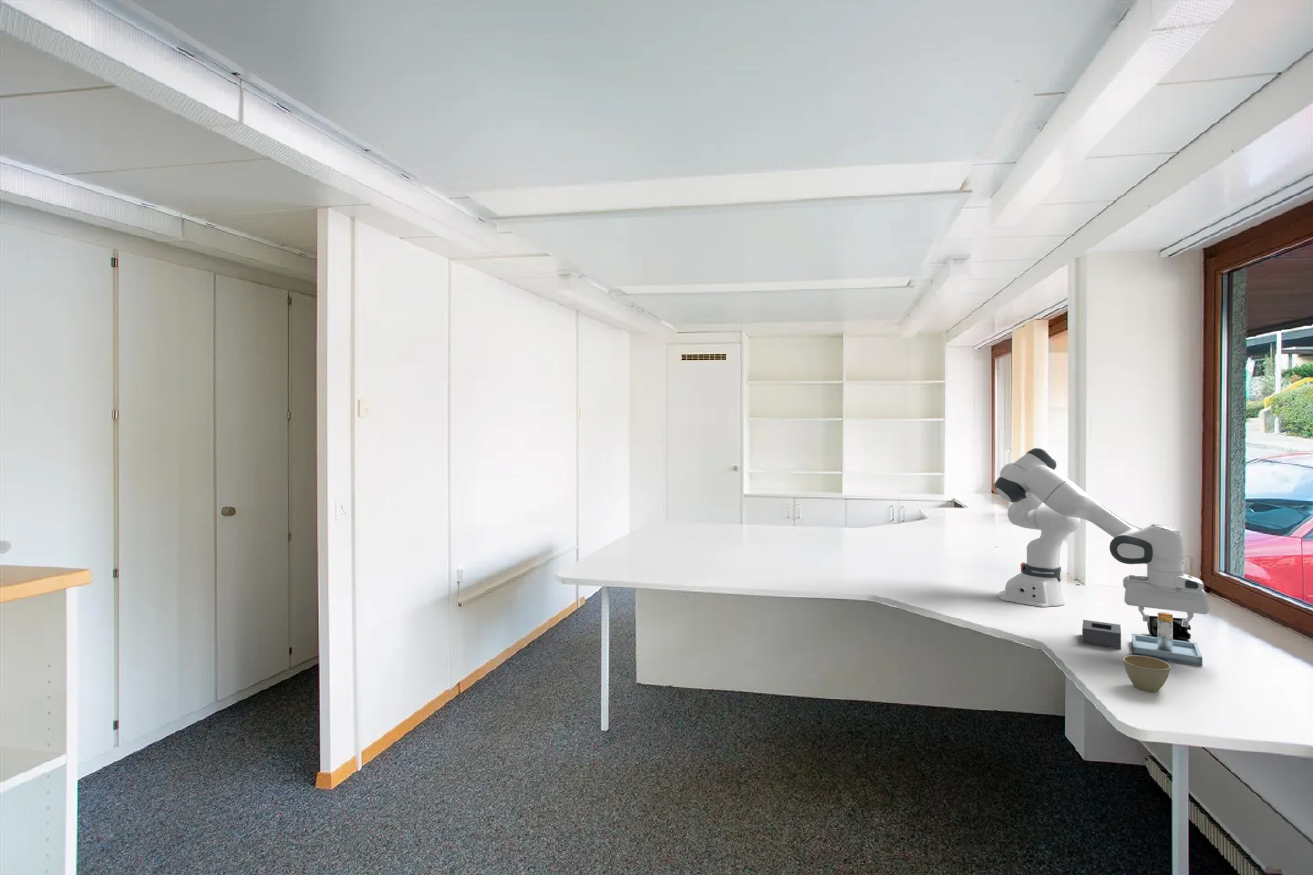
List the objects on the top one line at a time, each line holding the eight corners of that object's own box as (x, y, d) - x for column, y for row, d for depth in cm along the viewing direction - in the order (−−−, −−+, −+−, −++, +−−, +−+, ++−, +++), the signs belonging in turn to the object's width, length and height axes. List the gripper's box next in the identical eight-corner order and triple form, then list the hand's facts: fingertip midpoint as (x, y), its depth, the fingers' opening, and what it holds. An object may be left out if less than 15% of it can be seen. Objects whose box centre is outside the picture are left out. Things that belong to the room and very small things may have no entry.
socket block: (1082, 643, 205) (1082, 627, 205) (1083, 634, 213) (1083, 619, 213) (1120, 649, 200) (1120, 633, 199) (1120, 639, 208) (1120, 624, 208)
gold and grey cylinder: (1157, 650, 195) (1158, 614, 195) (1157, 647, 198) (1157, 611, 198) (1173, 652, 193) (1173, 616, 193) (1172, 649, 196) (1172, 613, 196)
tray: (1133, 655, 195) (1133, 647, 194) (1131, 641, 206) (1131, 633, 206) (1202, 666, 185) (1202, 657, 185) (1196, 651, 197) (1196, 643, 197)
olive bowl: (1113, 682, 176) (1113, 656, 176) (1147, 679, 177) (1147, 654, 176) (1144, 697, 166) (1144, 670, 166) (1180, 695, 167) (1180, 668, 167)
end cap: (1184, 636, 210) (1184, 616, 210) (1192, 643, 203) (1192, 622, 203) (1147, 633, 214) (1146, 613, 214) (1153, 640, 207) (1153, 619, 207)
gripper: (1123, 576, 198) (1123, 620, 199) (1210, 585, 187) (1210, 632, 187) (1122, 572, 204) (1122, 615, 204) (1207, 580, 192) (1207, 626, 192)
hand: (1165, 623), depth 195 cm, fingers open, 8 cm apart
